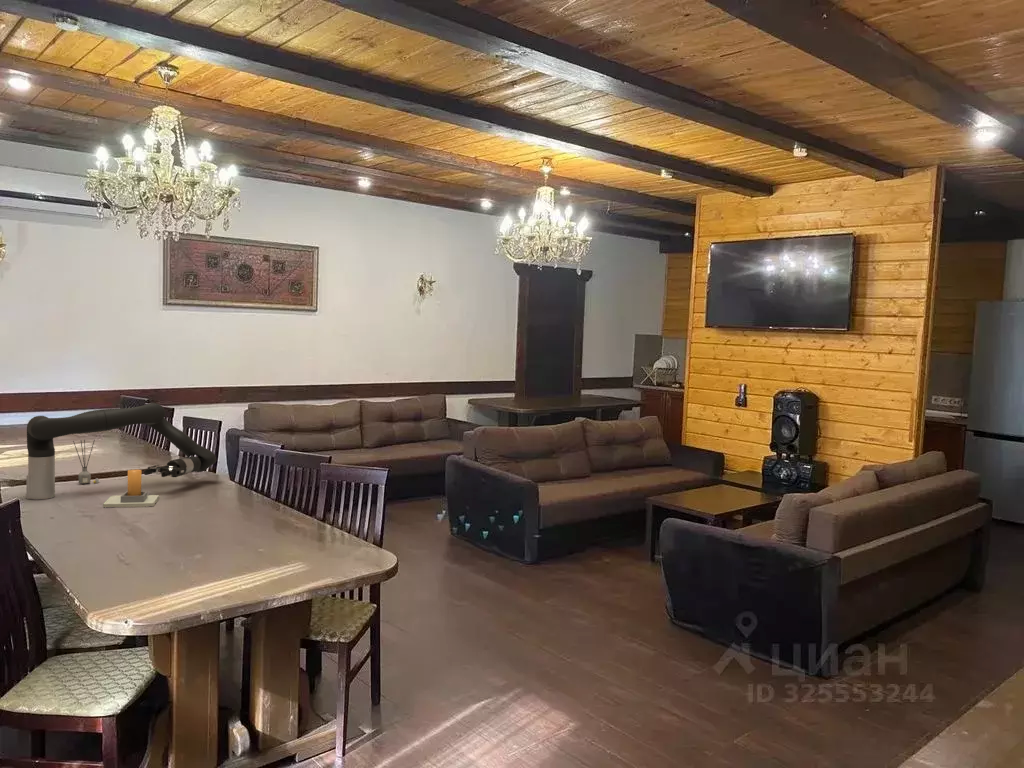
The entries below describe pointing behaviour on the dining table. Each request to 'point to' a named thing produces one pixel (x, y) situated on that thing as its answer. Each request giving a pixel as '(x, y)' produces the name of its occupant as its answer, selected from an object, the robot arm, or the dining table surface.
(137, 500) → the cream slab
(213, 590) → the dining table surface
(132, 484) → the orange cylinder
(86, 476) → the reed diffuser
